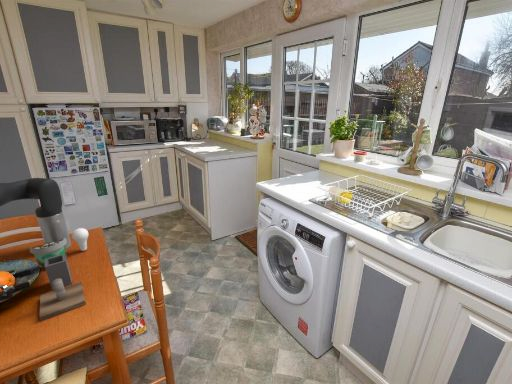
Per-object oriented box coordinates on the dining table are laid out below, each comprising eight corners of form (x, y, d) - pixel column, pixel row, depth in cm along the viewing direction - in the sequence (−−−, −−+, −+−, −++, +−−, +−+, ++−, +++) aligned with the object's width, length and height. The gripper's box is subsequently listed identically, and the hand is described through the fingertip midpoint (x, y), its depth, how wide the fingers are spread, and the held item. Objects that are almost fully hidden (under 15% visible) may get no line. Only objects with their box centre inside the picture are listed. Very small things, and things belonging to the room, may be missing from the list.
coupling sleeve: (52, 281, 100) (44, 259, 96) (71, 275, 103) (64, 253, 100) (52, 290, 95) (44, 267, 92) (72, 283, 98) (65, 261, 95)
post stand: (41, 298, 91) (34, 278, 88) (82, 285, 98) (77, 265, 95) (40, 321, 82) (33, 299, 79) (85, 304, 89) (80, 283, 86)
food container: (36, 275, 103) (29, 253, 100) (35, 268, 108) (28, 246, 104) (73, 263, 111) (67, 242, 108) (71, 256, 115) (65, 236, 112)
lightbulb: (84, 254, 117) (79, 232, 113) (72, 253, 118) (67, 231, 114) (95, 247, 122) (90, 226, 119) (83, 246, 123) (78, 225, 120)
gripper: (-46, 300, 77) (25, 279, 86) (-35, 275, 88) (28, 258, 97) (-37, 320, 80) (32, 297, 89) (-26, 293, 90) (34, 276, 99)
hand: (30, 277), depth 93 cm, fingers open, 8 cm apart
